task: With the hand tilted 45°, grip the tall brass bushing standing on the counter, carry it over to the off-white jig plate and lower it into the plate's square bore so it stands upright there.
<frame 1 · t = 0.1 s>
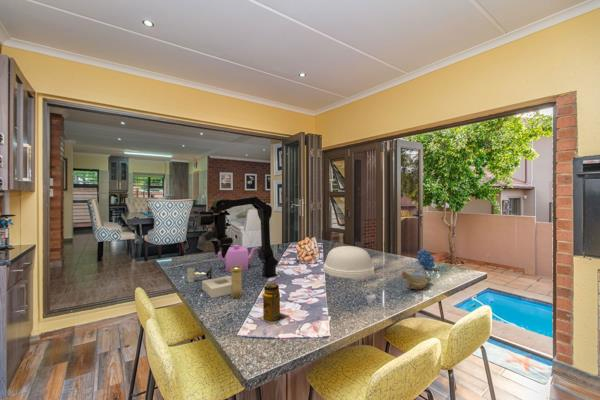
hand: (219, 256, 135), 15 cm above the kitchen island, tool pointing down, fingers open, 9 cm apart
valve: (199, 281, 143), on the kitchen island
grapes: (424, 269, 164), on the kitchen island
jig plate: (221, 290, 128), on the kitchen island
dome cover: (348, 271, 162), on the kitchen island
oil lamp: (417, 288, 132), on the kitchen island
brass bushing: (236, 296, 121), on the kitchen island
condiment: (273, 317, 100), on the kitchen island
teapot: (238, 268, 168), on the kitchen island
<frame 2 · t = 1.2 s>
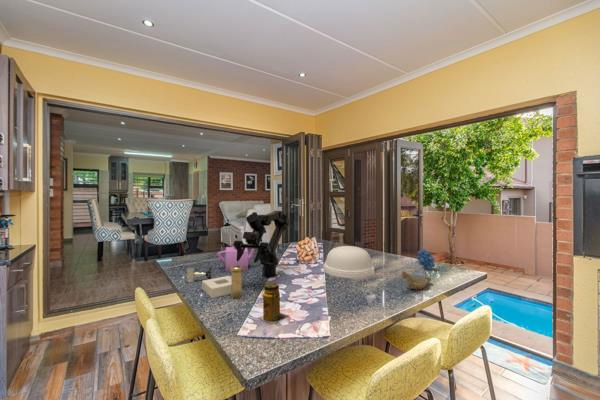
hand: (245, 261, 128), 13 cm above the kitchen island, tool tilted 45°, fingers open, 9 cm apart
nothing on the kitchen island moved.
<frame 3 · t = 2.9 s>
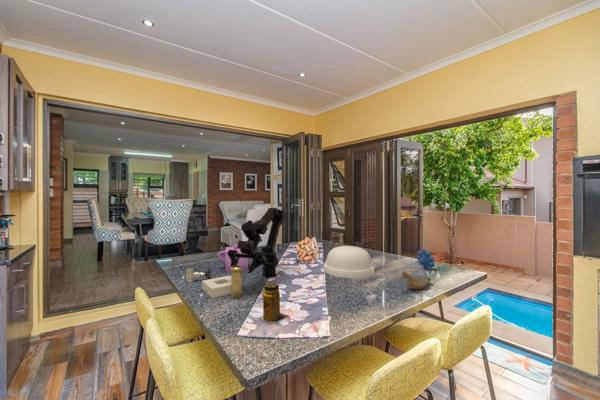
hand: (239, 272, 123), 10 cm above the kitchen island, tool tilted 45°, fingers open, 9 cm apart
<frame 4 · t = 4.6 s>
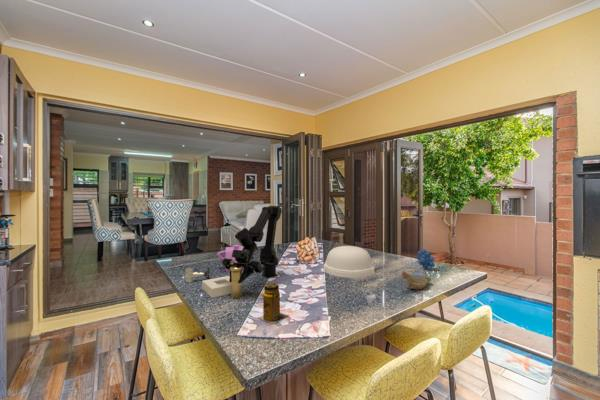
hand: (234, 282, 119), 7 cm above the kitchen island, tool tilted 45°, fingers closed on brass bushing, 4 cm apart
brass bushing: (236, 296, 121), on the kitchen island, touching gripper
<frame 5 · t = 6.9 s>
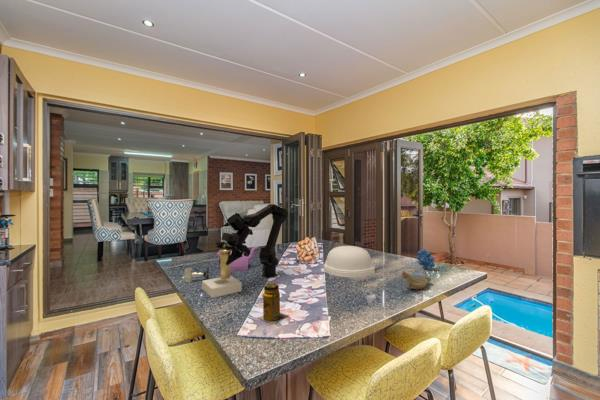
hand: (223, 263, 124), 13 cm above the kitchen island, tool tilted 45°, fingers closed on brass bushing, 4 cm apart
brass bushing: (225, 277, 125), point 7 cm above the kitchen island, touching gripper
when the fingers open (8 cm above the kitchen island, at t = 9.3 s): brass bushing drops 1 cm, resting in jig plate.
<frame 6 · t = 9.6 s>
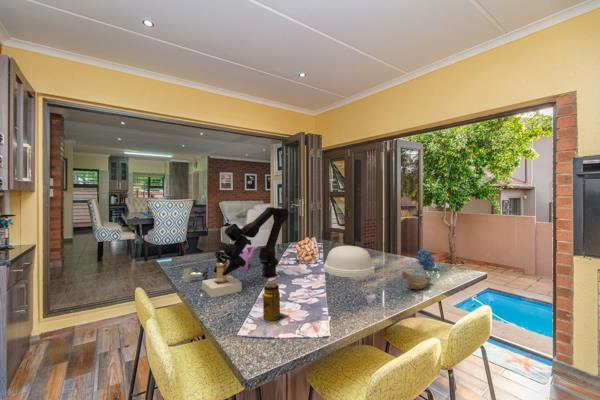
hand: (219, 273, 127), 8 cm above the kitchen island, tool tilted 45°, fingers open, 7 cm apart
brass bushing: (221, 290, 128), resting in jig plate
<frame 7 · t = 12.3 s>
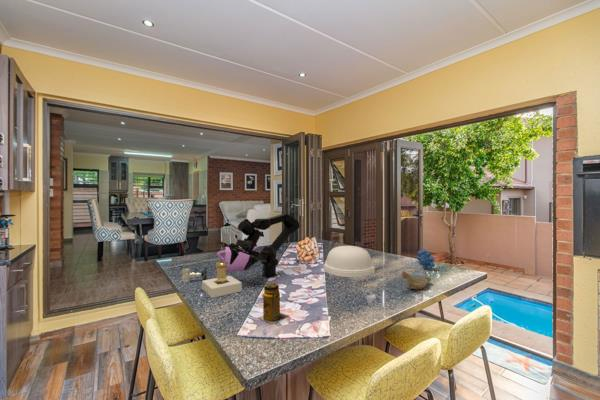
hand: (237, 267, 136), 9 cm above the kitchen island, tool tilted 35°, fingers open, 9 cm apart
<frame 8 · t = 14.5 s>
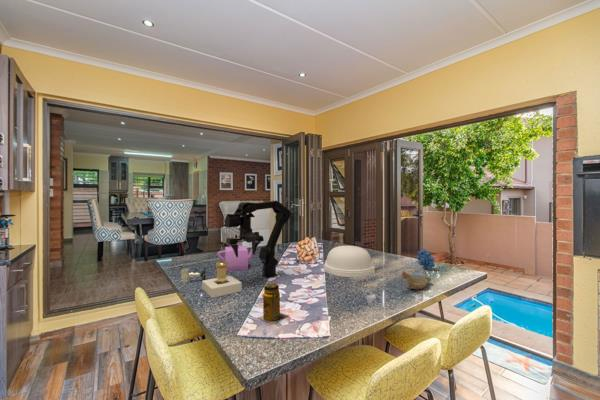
hand: (245, 256, 142), 13 cm above the kitchen island, tool pointing down, fingers open, 9 cm apart
at the end: brass bushing 0.1 cm off-centre on the jig plate, point 0.0 cm above the jig plate's base; brass bushing tilted 0°; the gripper is holding nothing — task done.
